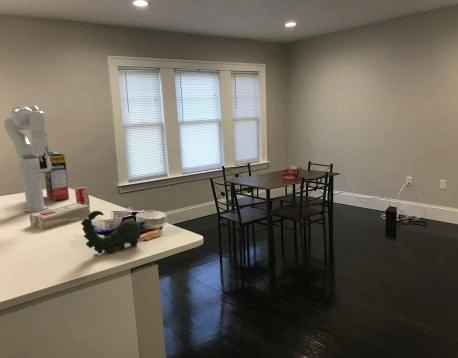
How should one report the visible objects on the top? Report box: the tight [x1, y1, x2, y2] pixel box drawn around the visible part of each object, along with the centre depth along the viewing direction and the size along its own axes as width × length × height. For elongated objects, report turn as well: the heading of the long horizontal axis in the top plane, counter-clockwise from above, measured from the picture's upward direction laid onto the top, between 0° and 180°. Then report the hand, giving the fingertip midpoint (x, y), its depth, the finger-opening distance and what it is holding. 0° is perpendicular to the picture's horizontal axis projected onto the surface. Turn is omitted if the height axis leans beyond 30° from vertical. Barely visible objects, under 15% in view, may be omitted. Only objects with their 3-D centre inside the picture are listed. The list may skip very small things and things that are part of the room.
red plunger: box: [40, 209, 55, 215], centre depth 193 cm, size 5×5×4 cm
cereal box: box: [44, 151, 70, 202], centre depth 258 cm, size 27×11×32 cm, turn 34°
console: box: [28, 202, 91, 230], centre depth 198 cm, size 14×26×6 cm, turn 145°
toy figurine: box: [81, 210, 146, 255], centre depth 149 cm, size 9×19×25 cm
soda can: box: [74, 186, 91, 207], centre depth 223 cm, size 7×7×13 cm
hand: (43, 168), depth 201 cm, fingers closed
